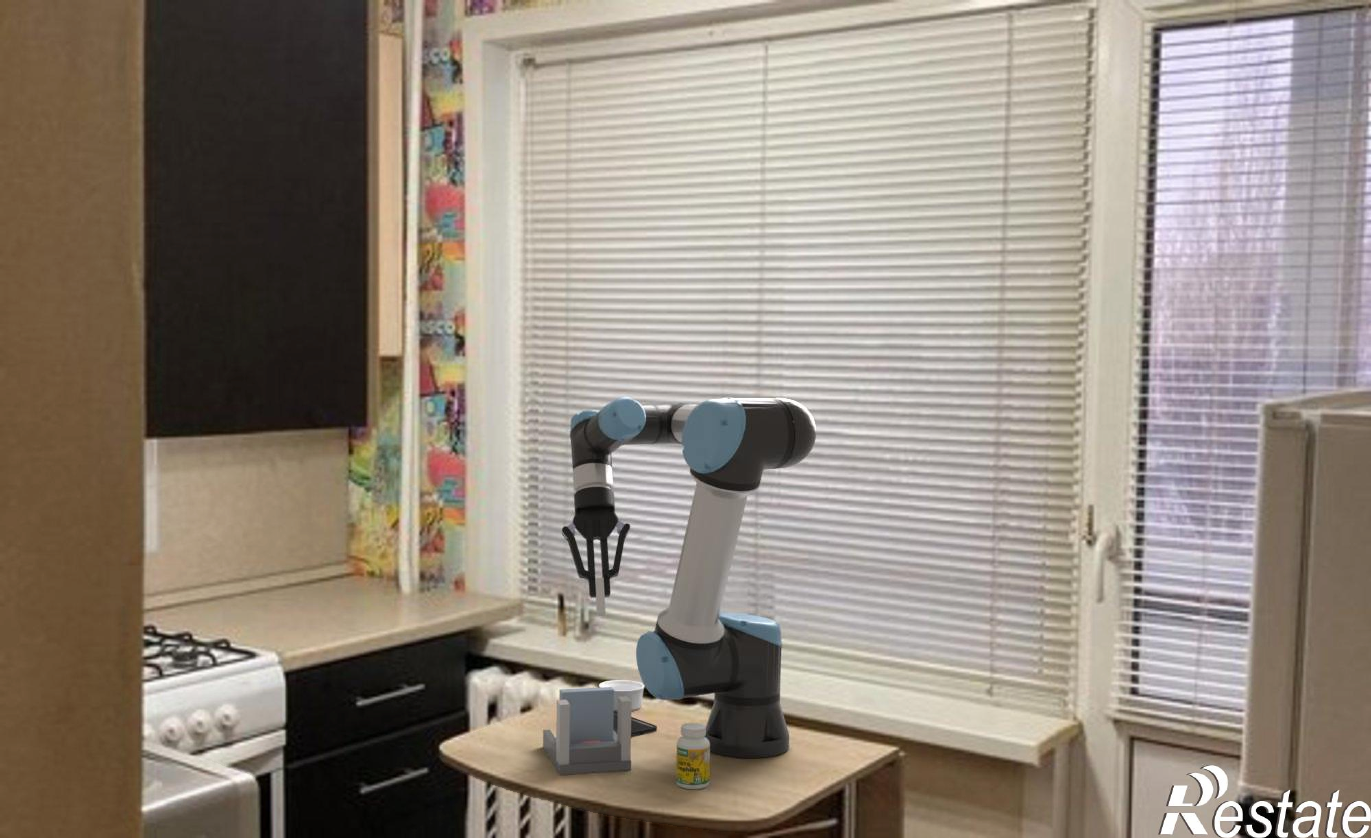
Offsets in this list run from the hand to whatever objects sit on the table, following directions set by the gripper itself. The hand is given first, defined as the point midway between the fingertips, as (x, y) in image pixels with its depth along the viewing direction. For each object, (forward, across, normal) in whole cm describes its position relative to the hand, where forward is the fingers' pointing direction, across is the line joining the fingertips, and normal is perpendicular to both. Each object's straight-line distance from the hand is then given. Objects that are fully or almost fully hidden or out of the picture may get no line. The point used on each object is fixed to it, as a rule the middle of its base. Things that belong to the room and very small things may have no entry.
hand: (601, 614), depth 248 cm
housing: (+26, +4, +5) cm, 27 cm away
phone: (+18, -2, -13) cm, 23 cm away
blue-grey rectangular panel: (+24, +4, +6) cm, 25 cm away
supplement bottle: (+34, -12, +18) cm, 40 cm away
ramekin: (+13, -4, -25) cm, 28 cm away
